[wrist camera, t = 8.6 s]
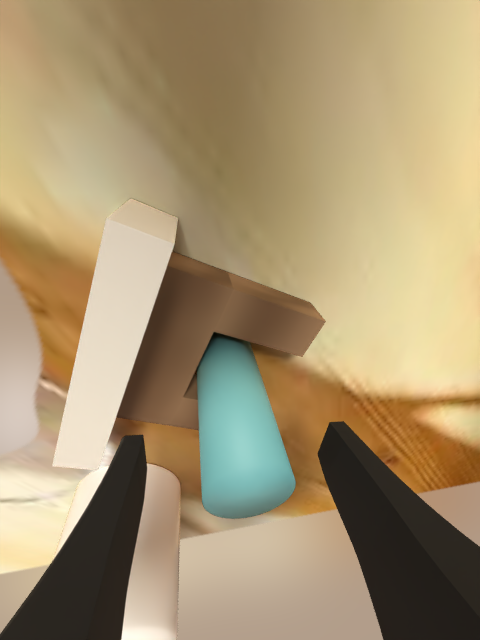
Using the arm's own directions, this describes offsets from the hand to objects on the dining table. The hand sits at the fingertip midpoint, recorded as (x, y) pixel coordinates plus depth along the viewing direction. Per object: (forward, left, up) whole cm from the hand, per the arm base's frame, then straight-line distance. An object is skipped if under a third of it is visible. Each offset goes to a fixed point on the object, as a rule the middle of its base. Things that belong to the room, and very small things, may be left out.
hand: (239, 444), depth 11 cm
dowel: (0, 0, -6) cm, 6 cm away
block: (+1, 0, -6) cm, 6 cm away
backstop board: (+6, 0, -6) cm, 8 cm away
